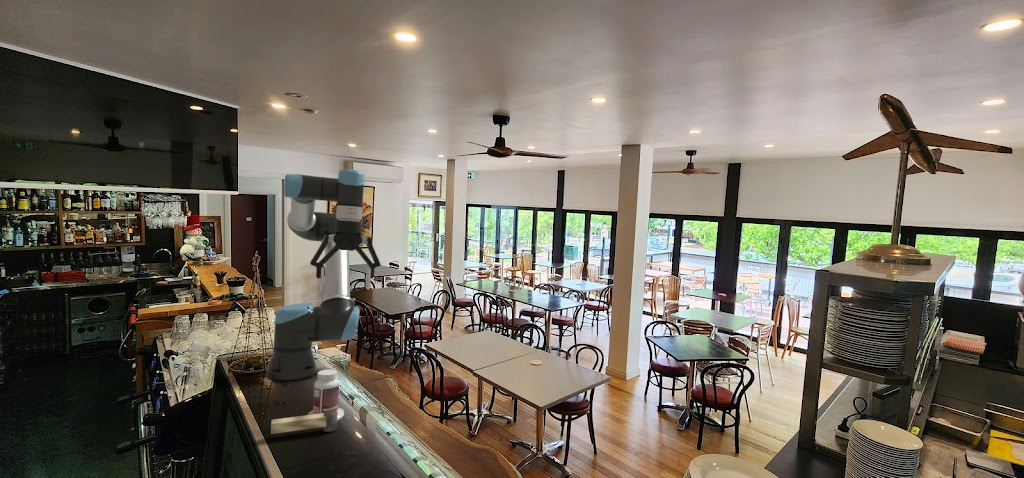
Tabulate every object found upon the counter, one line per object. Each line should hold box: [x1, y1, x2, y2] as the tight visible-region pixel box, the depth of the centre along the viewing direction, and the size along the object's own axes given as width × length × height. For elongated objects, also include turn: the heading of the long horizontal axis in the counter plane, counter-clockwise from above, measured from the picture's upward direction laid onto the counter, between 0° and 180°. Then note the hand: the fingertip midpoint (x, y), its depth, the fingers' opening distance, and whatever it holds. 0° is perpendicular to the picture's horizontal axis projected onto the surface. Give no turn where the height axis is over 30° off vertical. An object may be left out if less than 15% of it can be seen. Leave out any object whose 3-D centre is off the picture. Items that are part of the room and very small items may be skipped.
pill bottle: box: [312, 369, 340, 414], centre depth 115 cm, size 6×6×11 cm
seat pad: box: [307, 407, 345, 422], centre depth 115 cm, size 9×9×1 cm
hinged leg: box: [270, 411, 338, 435], centre depth 105 cm, size 15×3×4 cm, turn 117°
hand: (345, 289), depth 133 cm, fingers open, 13 cm apart
